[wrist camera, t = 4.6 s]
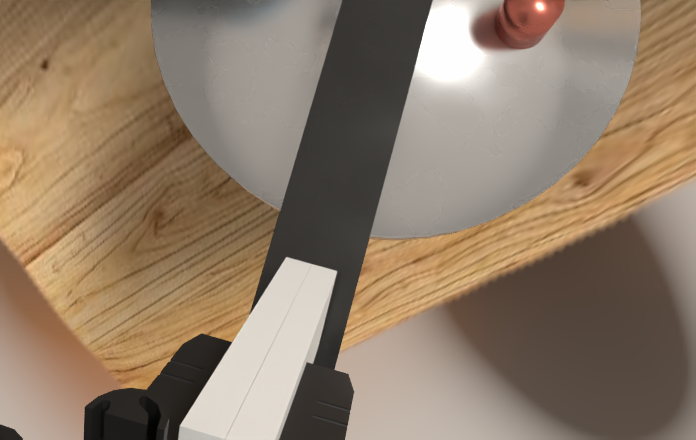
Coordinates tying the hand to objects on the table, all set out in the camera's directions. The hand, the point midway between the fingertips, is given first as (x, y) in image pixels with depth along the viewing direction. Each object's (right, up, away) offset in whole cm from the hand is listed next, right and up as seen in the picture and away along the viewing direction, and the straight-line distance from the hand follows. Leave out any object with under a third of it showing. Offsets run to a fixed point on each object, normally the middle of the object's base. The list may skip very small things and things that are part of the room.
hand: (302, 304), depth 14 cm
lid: (+2, +8, +5) cm, 10 cm away
